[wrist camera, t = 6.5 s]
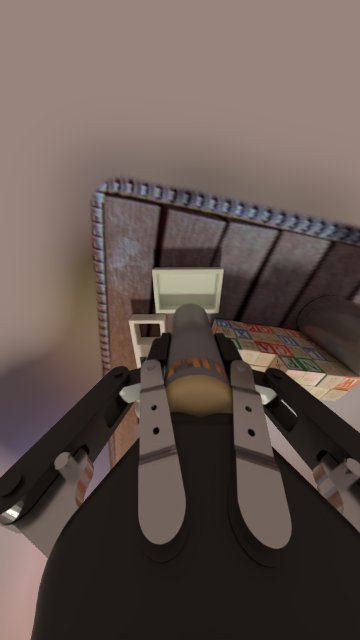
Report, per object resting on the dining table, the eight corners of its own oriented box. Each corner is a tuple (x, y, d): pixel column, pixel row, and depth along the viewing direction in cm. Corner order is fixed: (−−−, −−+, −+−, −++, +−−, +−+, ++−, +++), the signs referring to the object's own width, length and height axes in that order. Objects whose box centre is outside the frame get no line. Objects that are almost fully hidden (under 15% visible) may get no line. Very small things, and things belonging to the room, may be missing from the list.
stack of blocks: (206, 340, 35) (216, 387, 24) (214, 317, 32) (229, 360, 21) (292, 352, 36) (337, 402, 26) (308, 331, 33) (366, 379, 22)
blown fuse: (208, 303, 16) (246, 393, 6) (206, 334, 18) (233, 441, 8) (172, 303, 16) (155, 392, 7) (173, 334, 18) (161, 439, 8)
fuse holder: (165, 314, 32) (164, 320, 29) (168, 366, 39) (167, 375, 36) (133, 314, 32) (128, 320, 29) (142, 366, 39) (139, 375, 36)
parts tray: (220, 267, 27) (223, 269, 25) (215, 307, 31) (218, 313, 28) (154, 267, 28) (152, 269, 25) (158, 307, 31) (156, 313, 29)
